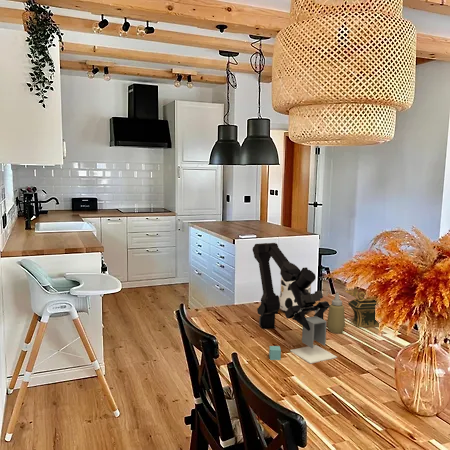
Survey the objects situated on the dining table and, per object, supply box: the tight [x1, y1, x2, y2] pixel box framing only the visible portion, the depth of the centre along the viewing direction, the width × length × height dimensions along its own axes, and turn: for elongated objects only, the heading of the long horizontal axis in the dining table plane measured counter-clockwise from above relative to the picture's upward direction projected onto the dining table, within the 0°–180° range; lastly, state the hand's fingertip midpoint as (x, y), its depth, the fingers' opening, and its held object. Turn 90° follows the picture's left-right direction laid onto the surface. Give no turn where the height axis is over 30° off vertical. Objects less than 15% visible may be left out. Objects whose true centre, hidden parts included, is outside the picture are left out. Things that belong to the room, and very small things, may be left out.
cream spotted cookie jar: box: [278, 275, 312, 314], centre depth 225 cm, size 17×17×18 cm
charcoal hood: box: [301, 315, 327, 348], centre depth 171 cm, size 6×6×10 cm
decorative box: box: [345, 287, 380, 328], centre depth 206 cm, size 20×10×20 cm, turn 99°
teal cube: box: [268, 345, 282, 361], centre depth 168 cm, size 4×4×4 cm
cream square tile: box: [290, 344, 338, 364], centre depth 172 cm, size 13×13×1 cm
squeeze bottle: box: [326, 292, 346, 334], centre depth 197 cm, size 8×8×18 cm
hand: (316, 329), depth 170 cm, fingers closed on charcoal hood, 6 cm apart
